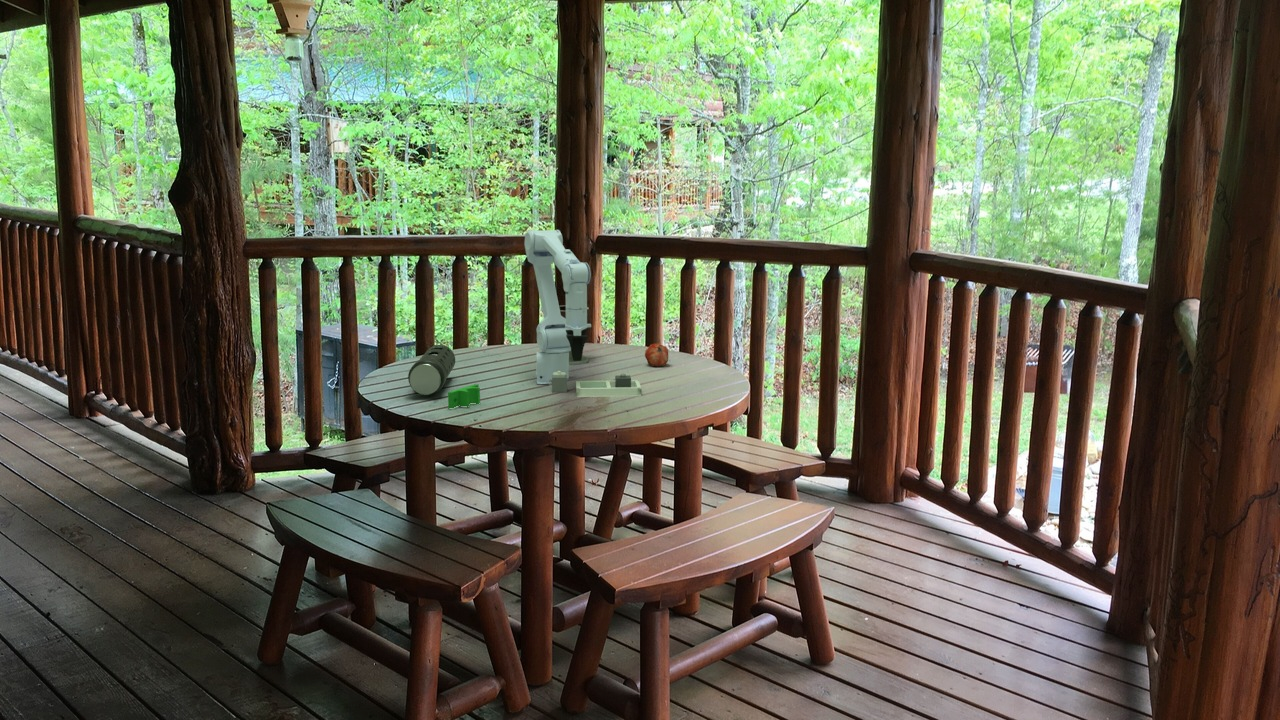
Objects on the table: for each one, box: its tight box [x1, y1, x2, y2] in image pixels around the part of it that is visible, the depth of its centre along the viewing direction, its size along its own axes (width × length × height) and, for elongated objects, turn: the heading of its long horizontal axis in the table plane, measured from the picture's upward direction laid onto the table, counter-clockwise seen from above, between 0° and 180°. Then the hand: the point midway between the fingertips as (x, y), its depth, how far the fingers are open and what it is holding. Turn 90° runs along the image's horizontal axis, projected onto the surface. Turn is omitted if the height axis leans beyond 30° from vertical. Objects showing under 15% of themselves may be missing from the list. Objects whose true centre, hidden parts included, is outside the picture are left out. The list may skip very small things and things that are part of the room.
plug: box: [614, 373, 632, 388], centre depth 260 cm, size 4×4×5 cm
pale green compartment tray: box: [575, 379, 642, 398], centre depth 260 cm, size 17×11×3 cm, turn 94°
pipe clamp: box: [447, 383, 481, 409], centre depth 249 cm, size 11×4×5 cm, turn 152°
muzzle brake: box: [407, 344, 456, 396], centre depth 268 cm, size 10×28×10 cm, turn 4°
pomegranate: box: [644, 342, 669, 367], centre depth 303 cm, size 7×7×10 cm
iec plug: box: [551, 371, 568, 394], centre depth 261 cm, size 4×4×7 cm
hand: (576, 358), depth 263 cm, fingers open, 7 cm apart
